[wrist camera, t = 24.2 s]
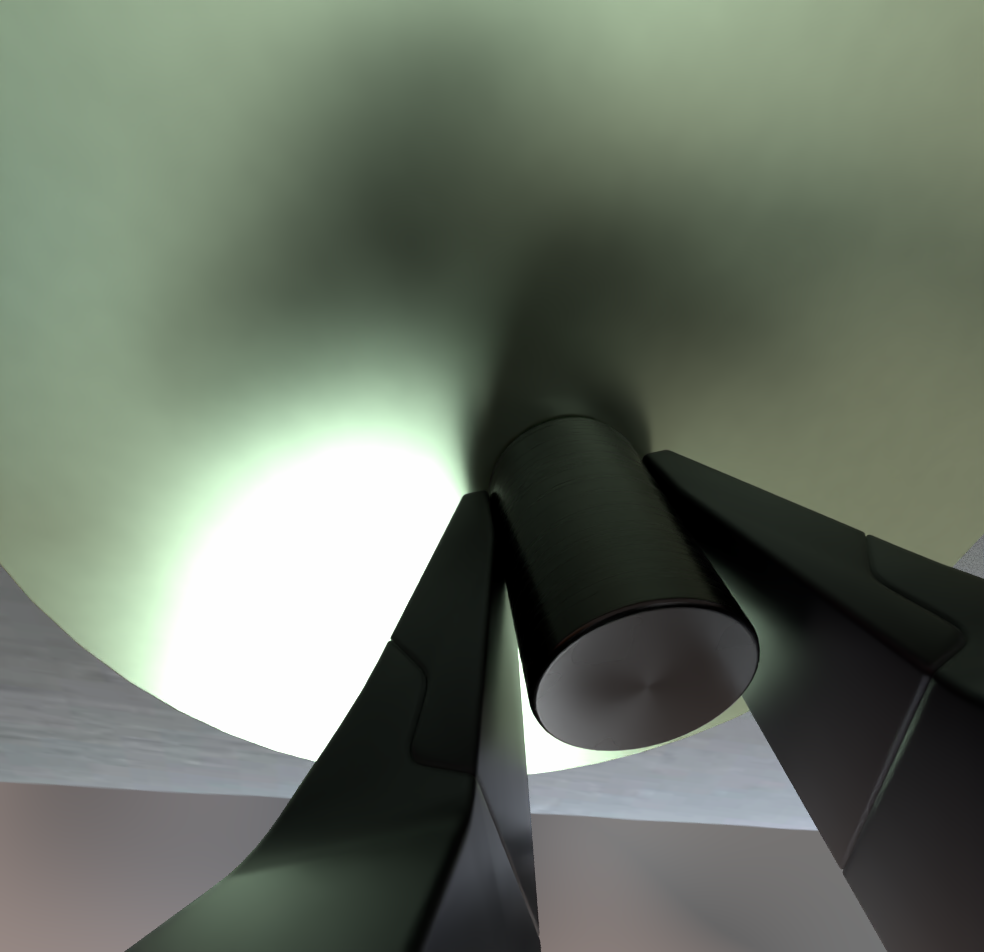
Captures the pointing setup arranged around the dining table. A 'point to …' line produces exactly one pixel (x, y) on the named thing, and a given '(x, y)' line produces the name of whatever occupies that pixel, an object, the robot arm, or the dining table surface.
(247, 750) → the dining table surface
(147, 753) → the dining table surface
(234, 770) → the dining table surface
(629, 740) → the bin lid
